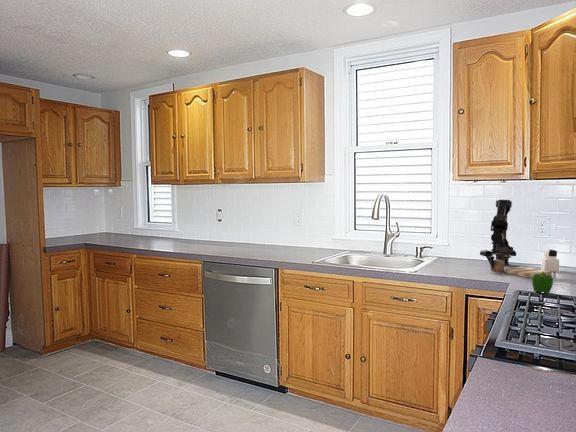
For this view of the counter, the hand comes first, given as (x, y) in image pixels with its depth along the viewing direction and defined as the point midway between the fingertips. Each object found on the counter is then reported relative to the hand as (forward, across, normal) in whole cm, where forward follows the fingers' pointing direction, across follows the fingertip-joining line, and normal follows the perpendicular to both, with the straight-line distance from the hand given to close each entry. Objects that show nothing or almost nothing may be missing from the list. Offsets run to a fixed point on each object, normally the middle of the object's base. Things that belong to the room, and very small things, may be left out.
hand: (497, 268), depth 246 cm
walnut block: (+2, 0, 0) cm, 2 cm away
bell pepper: (+2, -8, -48) cm, 48 cm away
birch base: (+2, +12, -10) cm, 15 cm away
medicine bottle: (+2, +30, -3) cm, 30 cm away
